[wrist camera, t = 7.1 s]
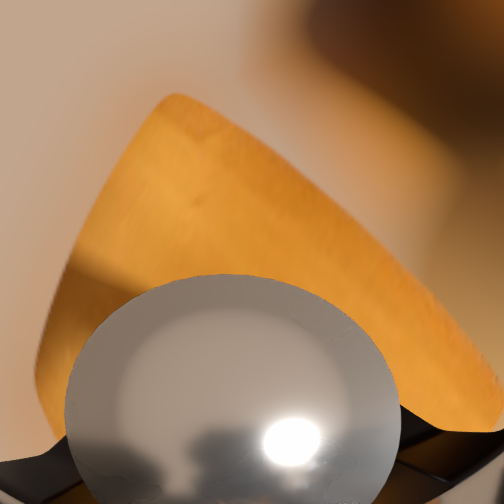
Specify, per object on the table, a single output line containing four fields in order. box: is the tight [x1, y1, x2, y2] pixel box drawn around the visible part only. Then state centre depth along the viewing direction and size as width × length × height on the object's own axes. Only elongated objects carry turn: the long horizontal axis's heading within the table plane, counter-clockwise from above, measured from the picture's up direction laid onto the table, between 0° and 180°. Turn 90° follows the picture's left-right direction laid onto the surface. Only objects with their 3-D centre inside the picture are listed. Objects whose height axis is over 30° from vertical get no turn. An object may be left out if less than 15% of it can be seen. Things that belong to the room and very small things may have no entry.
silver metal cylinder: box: [64, 274, 401, 504], centre depth 9 cm, size 5×5×13 cm
